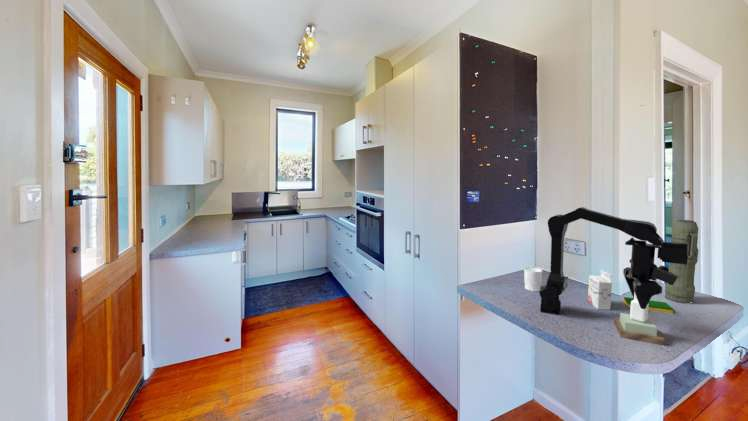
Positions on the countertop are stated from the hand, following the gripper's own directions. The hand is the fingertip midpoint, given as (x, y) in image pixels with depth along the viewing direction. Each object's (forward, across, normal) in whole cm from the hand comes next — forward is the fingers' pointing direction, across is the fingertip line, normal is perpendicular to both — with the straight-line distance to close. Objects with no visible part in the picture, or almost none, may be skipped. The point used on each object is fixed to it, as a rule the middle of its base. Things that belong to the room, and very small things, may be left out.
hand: (639, 303), depth 100 cm
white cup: (+11, +30, +33) cm, 46 cm away
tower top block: (+9, 0, 0) cm, 9 cm away
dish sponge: (+12, +29, -9) cm, 33 cm away
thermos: (+11, +45, -23) cm, 52 cm away
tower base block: (+12, 0, 0) cm, 12 cm away
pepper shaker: (+6, 0, 0) cm, 6 cm away
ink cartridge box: (+11, +22, +8) cm, 26 cm away
